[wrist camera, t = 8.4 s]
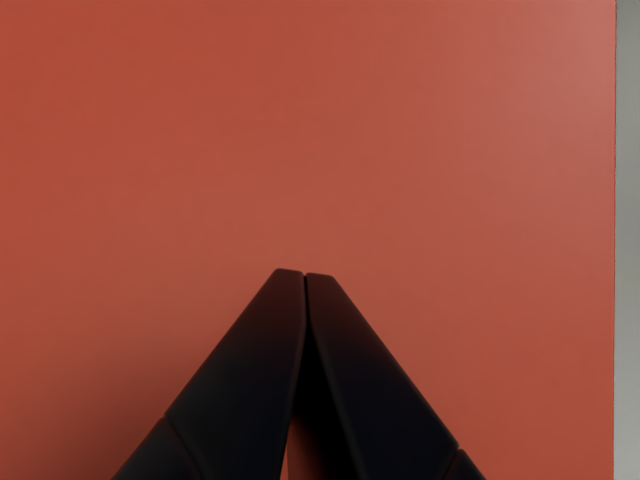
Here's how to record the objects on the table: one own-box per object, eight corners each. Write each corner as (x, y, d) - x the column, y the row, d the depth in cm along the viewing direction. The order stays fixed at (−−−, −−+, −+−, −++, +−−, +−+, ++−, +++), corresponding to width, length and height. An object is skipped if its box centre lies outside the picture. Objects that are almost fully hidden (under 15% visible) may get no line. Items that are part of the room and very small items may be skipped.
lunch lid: (45, -134, 12) (33, -169, 11) (595, -13, 13) (618, -36, 13) (-173, 680, 9) (-213, 712, 8) (584, 714, 10) (613, 744, 9)
